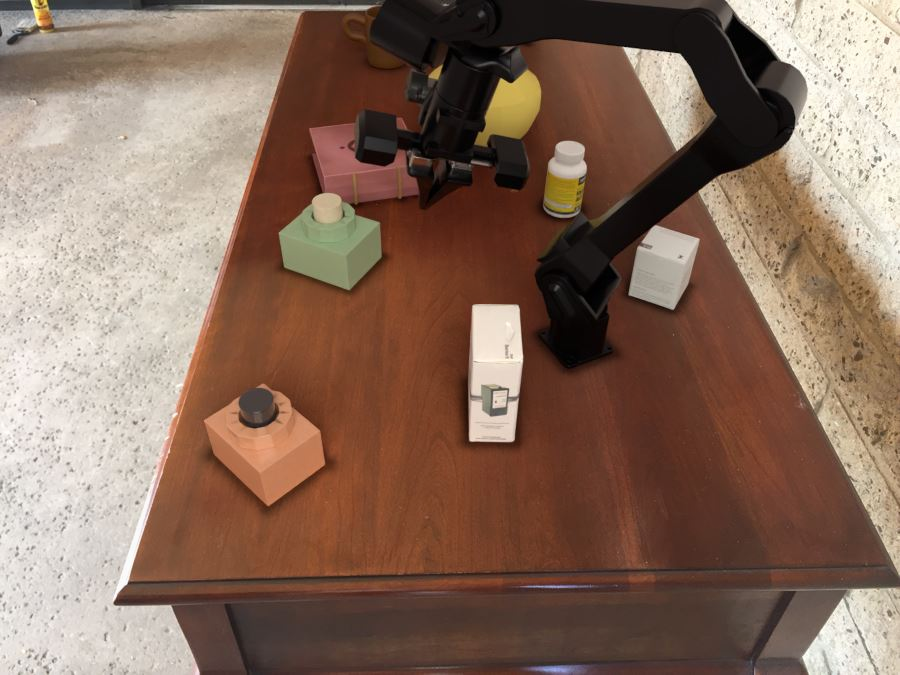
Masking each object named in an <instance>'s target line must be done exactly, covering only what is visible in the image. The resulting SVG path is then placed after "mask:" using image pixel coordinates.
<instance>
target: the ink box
mask: <svg viewBox="0 0 900 675" xmlns="http://www.w3.org/2000/svg"><path fill="white" fill-rule="evenodd" d="M521 324H522V323H521V309H520V306H519V304H496V303H495V304H494V303H493V304H492V303H489V304H487V303H485V304H484V303H483V304H478V303H477V304H473V305H472V306H471V320H470V333H469V334H470V336H469V352H468V353H469V355H468V358H469V359H468V374H467V376H468V377H467V391H468V392H467V394H468V395H467V398H468V403H467V404H468V441H469V442H471V443H472V442H473V443H474V442H481V443H483V442H484V443H513V442H514V441H515V440H516V439H515V438H516V428H517V418H518V409H519V400H520V390H521V383H522V375H523V374H522V372H523V364H524V352H523V340H522V326H521Z"/></svg>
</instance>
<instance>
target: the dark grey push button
mask: <svg viewBox="0 0 900 675" xmlns="http://www.w3.org/2000/svg"><path fill="white" fill-rule="evenodd" d="M240 396H241V397H240ZM240 396H239V397H240V398H239V402H238V404H239V408H240V412H241V416H242V420H243V422H244V423H245V424H246V425H247V426H249V427H252V428H261V427H265V426H267V425H269V424H270V423H272V422H273V421H274V419H275V417H276V414H277V413H276V407H275V402H274V397H273V394H272V393H271V392H270V391H269V390H267V389H264V388H256V387H254V388H251V389H248V390H246V391H244V392H243V393H242V394H241V395H240Z"/></svg>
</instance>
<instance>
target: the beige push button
mask: <svg viewBox="0 0 900 675" xmlns="http://www.w3.org/2000/svg"><path fill="white" fill-rule="evenodd" d="M311 204H312V206H313V214H314V219H315V221H316V222H319V223H322V224H332V223H335V222H338V221H340V220H342V218H343V210H342V200H341V198H340V196H338V195H336V194H333V193H323V192H322V193H320V194H318V195H315V196H314V197H313V199H312V200H311Z"/></svg>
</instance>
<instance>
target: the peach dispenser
mask: <svg viewBox="0 0 900 675" xmlns="http://www.w3.org/2000/svg"><path fill="white" fill-rule="evenodd" d="M255 388H264V389H267V390H269V391H270V392H271V393H272V394H273V397H274V402H275V407H276V413H277V414H276V417H275V419H274V421H273V422H272V423H270V424H269V425H267V426H265V427H261V428H252V427H249V426H247V425H246V424H245V423H244V422H243V420H242V416H241V412H240V408H239V404H238V402H239V398H240V397H241V395H240V396H238V397H237V398H235V399H233V400H232V401H231V403H229V404H228V405H226V406H224V407H223V408H221V409H220V410H218V411H216V412H215V413H213V414H211V415H209V416H208V417H207V418H205V419H204V420H203V422H204V426H205V429H206V433H207V435H208V439H209V443H210V445H211V446H210V447H211V450H212V452H213V455H214V456H215V457H216V458H217V459H218V460H219V461H220V462H221V463H222V464H223V465H224V466H225V467H226V468H227V469H228V470H230V471H231V473H232V474H234V475H235V477H237V478H238V479H239V480H240V481H241V482H242V483H243V484H244V485H245V486H246V487H247V488H248V489H249V490H250V491H251V492H253V494H255V496H256V497H257V498H259V500H261V502H263V503H264V504H265V505H266V506H267V507H270V506H271V505H272V504H274V503H275V502H276V501H278V500H279V499H280V498H282V497H284V495H286V494H287V493H289V492H290V491H292V490H293V489H294V488H295V487H297V486H299V484H301V483H302V482H304V481H305V480H307V479H308V478H309V477H310V476H312V475H313V474H315V473H316V472H318V470H320V469H321V468H323V467H324V466H325V465H326V459H325V453H324V447H323V446H324V445H323V441H322V433H321V430H320V429H319V428H318V427H317V426H315V425H314V424H313V423H312V422H311V421H309V420H308V419H307V417H304V416H303V415H302V414H301V413H300V412H299V411H297V410H296V409H295V408H294V407H292V403H291V399H289V398H288V397H287V396H286V395H285V394H283V392H281V391H278V390H272V389H271V388H270V387H269V386H268V385H266V384H265V383H260V384H259V385H258V386H256V387H255Z"/></svg>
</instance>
